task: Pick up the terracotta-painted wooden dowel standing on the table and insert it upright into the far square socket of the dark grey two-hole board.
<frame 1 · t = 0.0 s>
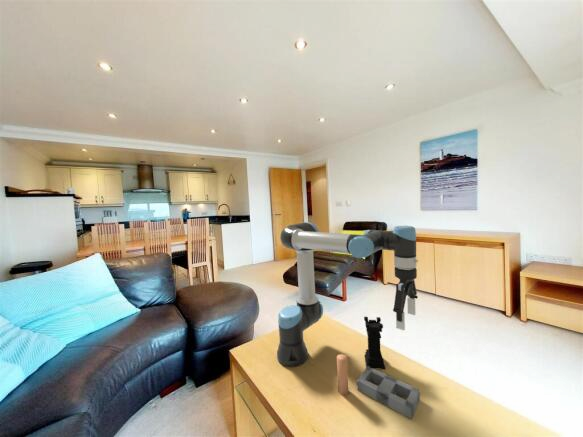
hand: (406, 321, 90), 28 cm above the table, fingers open, 13 cm apart
dowel: (343, 391, 93), on the table
chess piece: (374, 362, 108), on the table
socket board: (387, 394, 90), on the table
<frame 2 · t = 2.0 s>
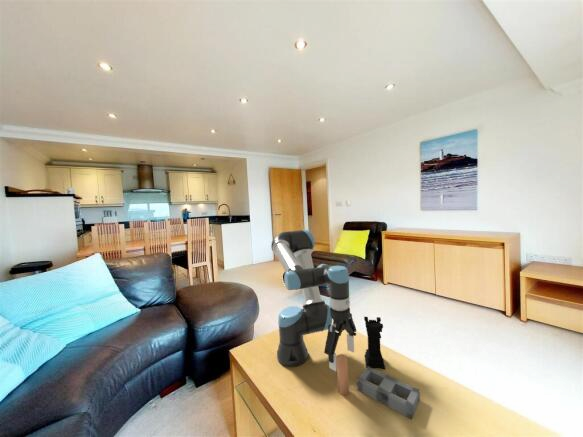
hand: (342, 359, 92), 13 cm above the table, fingers open, 13 cm apart
nothing on the table moved.
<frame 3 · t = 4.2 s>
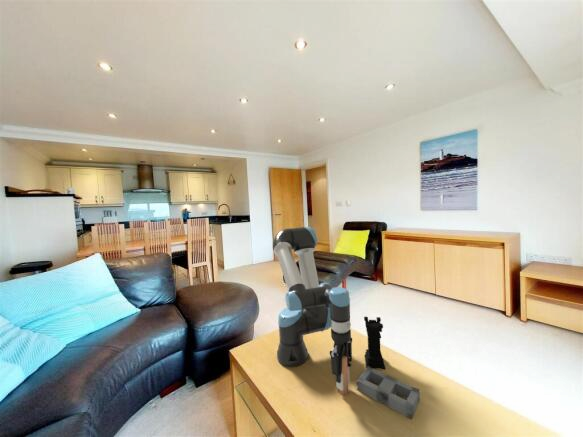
hand: (343, 384, 93), 3 cm above the table, fingers closed on dowel, 4 cm apart
dowel: (343, 390, 93), on the table, touching gripper
everything else where it was.
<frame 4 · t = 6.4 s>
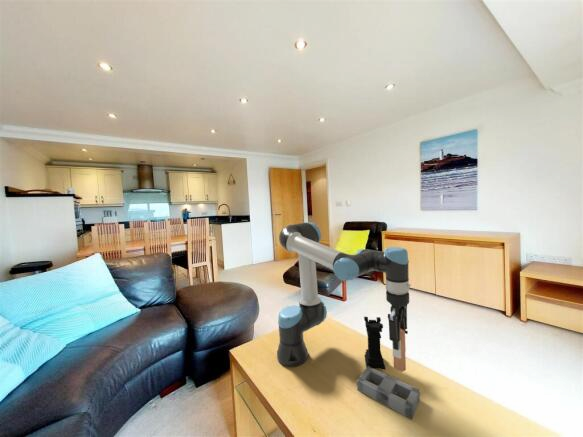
hand: (399, 353, 85), 19 cm above the table, fingers closed on dowel, 4 cm apart
dowel: (399, 367, 85), point 14 cm above the table, touching gripper
everything else where it was.
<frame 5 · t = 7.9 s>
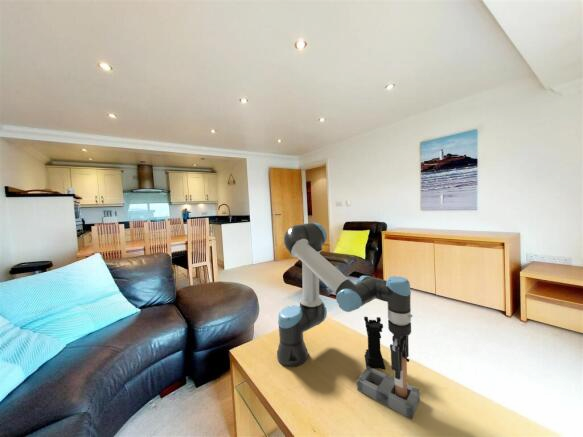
hand: (400, 381, 86), 8 cm above the table, fingers closed on dowel, 4 cm apart
dowel: (401, 395, 86), point 3 cm above the table, touching gripper
everything else where it was.
when the fingers open (6 cm above the table, at t = 8.9 s): dowel stays where it is, resting in socket board.
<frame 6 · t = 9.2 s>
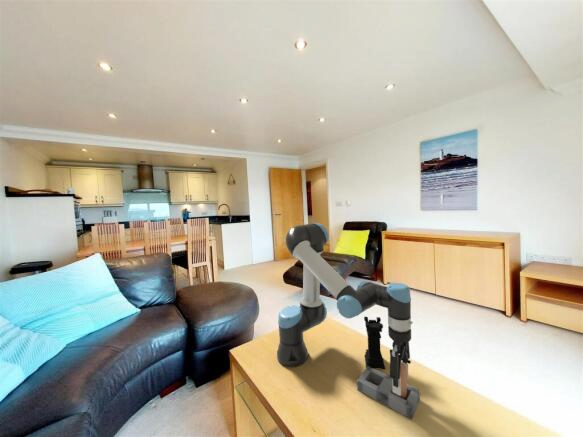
hand: (400, 385, 86), 6 cm above the table, fingers open, 8 cm apart
dowel: (401, 401, 87), resting in socket board
everything else where it was.
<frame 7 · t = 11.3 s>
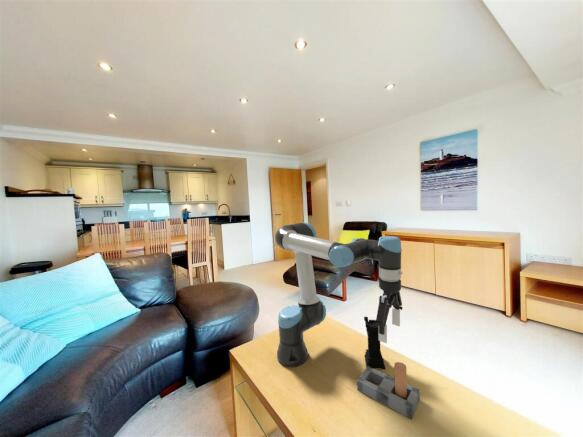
hand: (389, 332, 88), 25 cm above the table, fingers open, 13 cm apart
nothing on the table moved.
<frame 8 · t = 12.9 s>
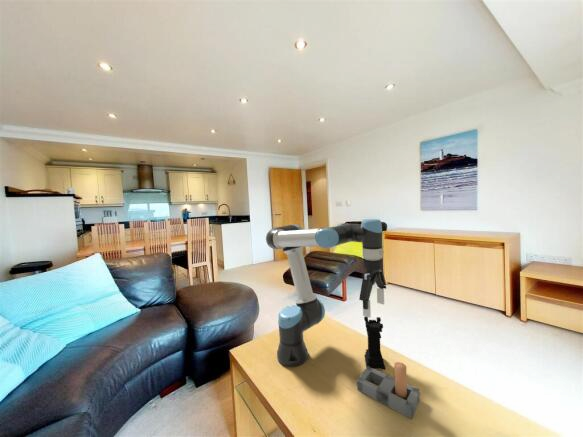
hand: (374, 309, 95), 31 cm above the table, fingers open, 13 cm apart
nothing on the table moved.
at the end: dowel 0.0 cm from the target spot on the socket board, point 0.0 cm above the socket board's base; dowel tilted 0°; the gripper is holding nothing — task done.
